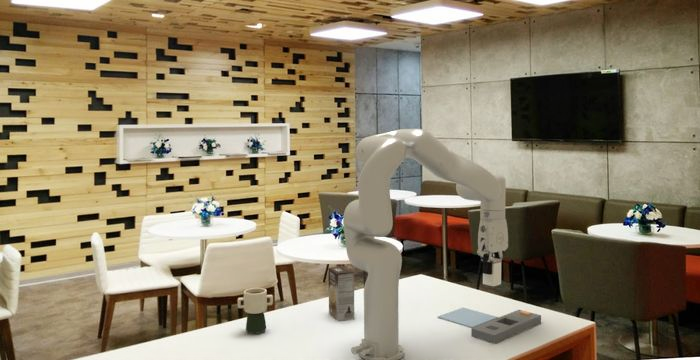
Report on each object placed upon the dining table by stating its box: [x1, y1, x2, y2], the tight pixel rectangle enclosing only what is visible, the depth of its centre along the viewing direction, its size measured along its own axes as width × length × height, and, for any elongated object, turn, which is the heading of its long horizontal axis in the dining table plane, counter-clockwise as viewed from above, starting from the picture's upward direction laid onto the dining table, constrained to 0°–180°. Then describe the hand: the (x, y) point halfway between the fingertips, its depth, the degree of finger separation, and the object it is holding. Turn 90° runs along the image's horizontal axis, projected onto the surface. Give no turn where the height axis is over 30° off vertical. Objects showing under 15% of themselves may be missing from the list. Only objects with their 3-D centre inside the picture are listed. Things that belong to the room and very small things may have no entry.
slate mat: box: [437, 307, 499, 329], centre depth 183 cm, size 14×14×1 cm
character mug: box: [236, 287, 274, 334], centre depth 172 cm, size 11×7×13 cm, turn 108°
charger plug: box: [482, 256, 503, 287], centre depth 174 cm, size 4×4×8 cm
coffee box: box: [328, 265, 355, 322], centre depth 185 cm, size 9×6×16 cm
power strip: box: [470, 309, 542, 345], centre depth 172 cm, size 26×8×3 cm, turn 132°
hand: (491, 272), depth 175 cm, fingers closed on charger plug, 4 cm apart
